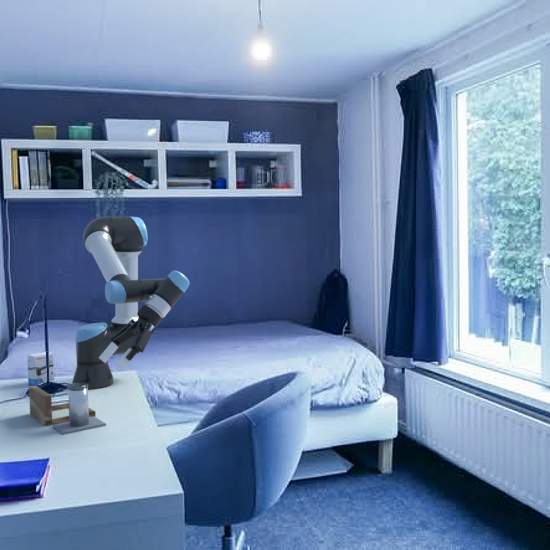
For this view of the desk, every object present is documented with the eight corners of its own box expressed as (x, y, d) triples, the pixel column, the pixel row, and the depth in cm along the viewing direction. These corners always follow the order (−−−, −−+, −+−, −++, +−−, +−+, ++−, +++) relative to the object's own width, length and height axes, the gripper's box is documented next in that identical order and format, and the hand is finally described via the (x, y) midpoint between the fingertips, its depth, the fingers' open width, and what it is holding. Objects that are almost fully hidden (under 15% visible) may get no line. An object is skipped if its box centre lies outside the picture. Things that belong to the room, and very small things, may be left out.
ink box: (35, 386, 235) (33, 356, 234) (27, 385, 238) (26, 354, 237) (54, 382, 242) (53, 352, 241) (47, 380, 245) (46, 351, 244)
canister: (85, 419, 189) (83, 381, 188) (92, 424, 185) (91, 385, 184) (66, 423, 186) (64, 384, 185) (73, 428, 181) (71, 388, 180)
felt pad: (94, 418, 193) (94, 416, 193) (105, 425, 185) (105, 423, 185) (52, 426, 185) (52, 425, 185) (62, 434, 178) (62, 432, 178)
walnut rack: (77, 405, 208) (76, 379, 207) (95, 416, 195) (94, 388, 195) (30, 414, 198) (28, 386, 198) (45, 425, 186) (44, 396, 185)
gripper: (129, 301, 207) (87, 350, 198) (163, 307, 187) (118, 363, 179) (144, 315, 210) (103, 364, 202) (179, 323, 190) (135, 378, 182)
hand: (110, 364), depth 190 cm, fingers open, 13 cm apart
